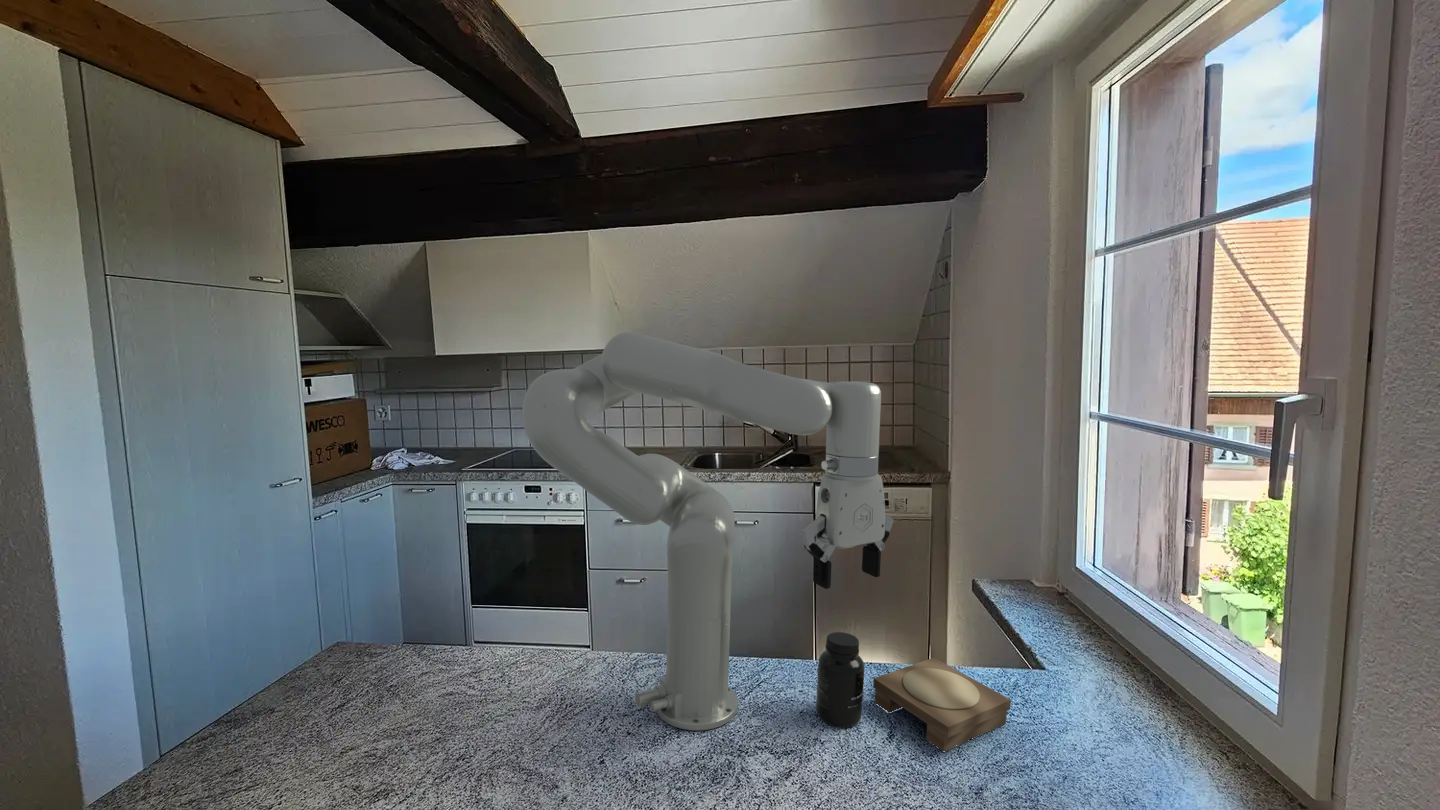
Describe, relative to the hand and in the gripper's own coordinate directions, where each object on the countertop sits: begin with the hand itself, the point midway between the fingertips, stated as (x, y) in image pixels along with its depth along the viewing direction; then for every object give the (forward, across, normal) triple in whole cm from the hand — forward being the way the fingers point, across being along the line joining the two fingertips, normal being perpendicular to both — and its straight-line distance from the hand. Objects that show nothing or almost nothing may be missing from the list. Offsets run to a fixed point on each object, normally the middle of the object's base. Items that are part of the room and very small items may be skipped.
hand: (846, 579), depth 88 cm
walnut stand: (+21, +14, -7) cm, 26 cm away
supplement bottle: (+21, 0, 0) cm, 21 cm away
